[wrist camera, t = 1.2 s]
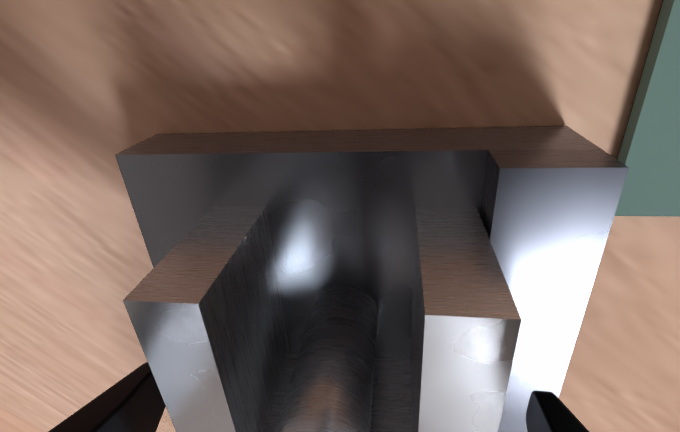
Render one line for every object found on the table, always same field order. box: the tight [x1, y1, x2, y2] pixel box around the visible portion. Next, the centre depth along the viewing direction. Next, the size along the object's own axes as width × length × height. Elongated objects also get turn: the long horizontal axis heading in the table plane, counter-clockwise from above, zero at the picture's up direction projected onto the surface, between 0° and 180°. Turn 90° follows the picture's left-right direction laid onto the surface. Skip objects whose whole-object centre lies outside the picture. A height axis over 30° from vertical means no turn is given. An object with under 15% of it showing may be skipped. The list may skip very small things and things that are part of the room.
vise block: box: [115, 126, 629, 432], centre depth 10 cm, size 12×10×9 cm
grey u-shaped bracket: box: [123, 206, 521, 432], centre depth 10 cm, size 7×7×4 cm
